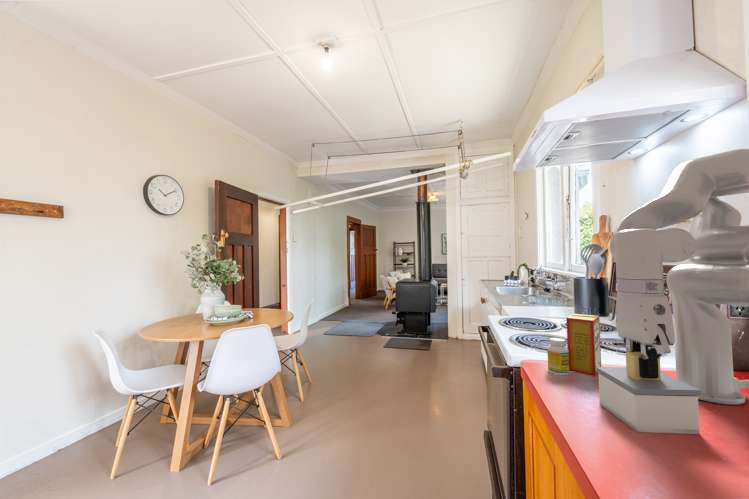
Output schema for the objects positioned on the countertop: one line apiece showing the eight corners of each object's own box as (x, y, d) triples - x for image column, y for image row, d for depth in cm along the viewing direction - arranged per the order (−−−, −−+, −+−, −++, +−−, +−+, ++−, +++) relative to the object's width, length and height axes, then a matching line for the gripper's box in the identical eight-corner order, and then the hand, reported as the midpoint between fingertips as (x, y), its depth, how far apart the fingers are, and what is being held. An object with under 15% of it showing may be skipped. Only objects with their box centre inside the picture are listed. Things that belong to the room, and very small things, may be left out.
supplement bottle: (553, 367, 92) (552, 335, 92) (572, 373, 87) (571, 339, 88) (544, 371, 89) (543, 338, 89) (563, 377, 84) (562, 342, 85)
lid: (651, 376, 68) (649, 345, 68) (701, 400, 57) (699, 363, 57) (596, 375, 69) (595, 345, 70) (635, 399, 58) (633, 362, 58)
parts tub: (651, 405, 68) (650, 374, 68) (699, 434, 57) (697, 396, 57) (599, 404, 69) (598, 373, 69) (636, 431, 58) (635, 394, 58)
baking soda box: (595, 376, 84) (593, 319, 85) (568, 370, 89) (566, 316, 90) (601, 367, 91) (599, 314, 92) (576, 362, 96) (574, 312, 96)
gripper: (695, 291, 55) (700, 392, 55) (630, 283, 71) (633, 362, 71) (651, 291, 56) (655, 391, 55) (596, 284, 72) (599, 361, 71)
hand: (643, 374), depth 63 cm, fingers closed on lid
